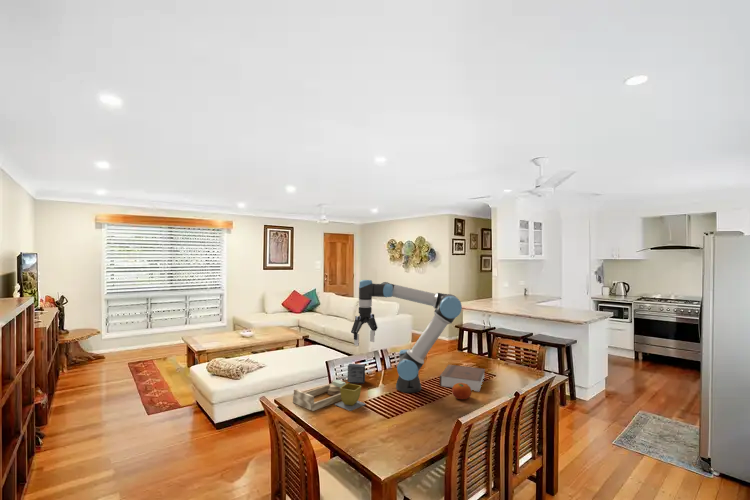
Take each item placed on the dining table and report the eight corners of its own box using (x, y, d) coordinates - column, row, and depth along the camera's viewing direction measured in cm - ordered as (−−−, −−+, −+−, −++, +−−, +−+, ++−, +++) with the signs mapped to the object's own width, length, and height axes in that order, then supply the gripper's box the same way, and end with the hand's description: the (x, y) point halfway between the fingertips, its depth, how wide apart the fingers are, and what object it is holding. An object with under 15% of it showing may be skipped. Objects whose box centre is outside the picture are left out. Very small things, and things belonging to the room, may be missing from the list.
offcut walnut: (349, 394, 218) (349, 389, 218) (348, 397, 214) (348, 391, 214) (329, 392, 220) (329, 387, 220) (327, 395, 216) (327, 390, 216)
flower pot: (361, 402, 204) (361, 385, 204) (354, 408, 196) (354, 390, 196) (346, 399, 208) (347, 383, 208) (339, 405, 199) (339, 388, 200)
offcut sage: (345, 386, 216) (345, 382, 216) (340, 387, 213) (340, 384, 213) (337, 383, 221) (337, 379, 221) (332, 384, 218) (332, 381, 218)
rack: (354, 395, 215) (354, 383, 215) (312, 411, 192) (313, 397, 192) (334, 388, 226) (334, 376, 226) (292, 402, 203) (293, 389, 203)
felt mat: (366, 404, 202) (366, 403, 202) (350, 411, 193) (350, 410, 193) (349, 398, 210) (349, 397, 210) (334, 404, 201) (334, 404, 201)
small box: (365, 380, 241) (365, 364, 242) (363, 384, 235) (364, 367, 235) (348, 379, 242) (349, 363, 243) (347, 383, 236) (347, 366, 236)
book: (439, 386, 234) (439, 375, 234) (448, 374, 260) (448, 364, 260) (480, 392, 225) (480, 381, 225) (485, 379, 251) (485, 369, 251)
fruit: (458, 393, 222) (459, 379, 222) (474, 398, 214) (474, 384, 214) (448, 398, 214) (448, 383, 214) (464, 403, 207) (464, 388, 207)
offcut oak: (347, 388, 220) (347, 383, 220) (347, 390, 216) (348, 386, 216) (329, 388, 218) (329, 384, 218) (330, 391, 214) (330, 386, 214)
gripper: (374, 304, 231) (373, 339, 231) (345, 307, 212) (344, 345, 212) (383, 305, 226) (383, 341, 226) (355, 309, 207) (354, 348, 207)
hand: (364, 343), depth 219 cm, fingers open, 13 cm apart
